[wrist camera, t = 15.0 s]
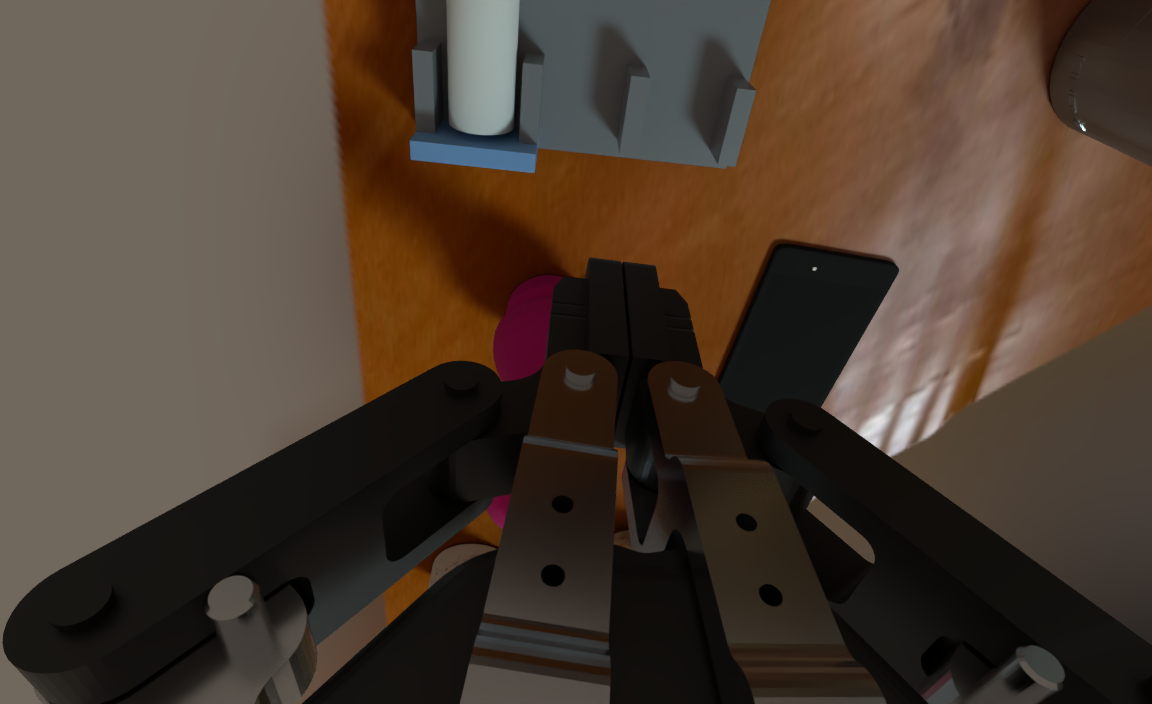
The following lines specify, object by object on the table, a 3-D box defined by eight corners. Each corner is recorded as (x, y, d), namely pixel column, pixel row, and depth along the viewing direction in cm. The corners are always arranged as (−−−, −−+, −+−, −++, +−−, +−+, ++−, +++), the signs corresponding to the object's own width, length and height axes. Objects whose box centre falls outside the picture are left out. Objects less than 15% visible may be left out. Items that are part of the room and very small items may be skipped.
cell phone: (695, 428, 51) (697, 436, 50) (775, 239, 40) (778, 245, 39) (793, 441, 52) (796, 449, 51) (897, 260, 41) (903, 266, 40)
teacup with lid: (514, 594, 65) (504, 708, 56) (430, 586, 65) (406, 701, 55) (526, 527, 58) (517, 646, 49) (432, 517, 57) (405, 636, 48)
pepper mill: (484, 282, 42) (428, 520, 26) (584, 256, 40) (590, 488, 24) (519, 360, 46) (490, 606, 30) (611, 339, 45) (631, 583, 29)
